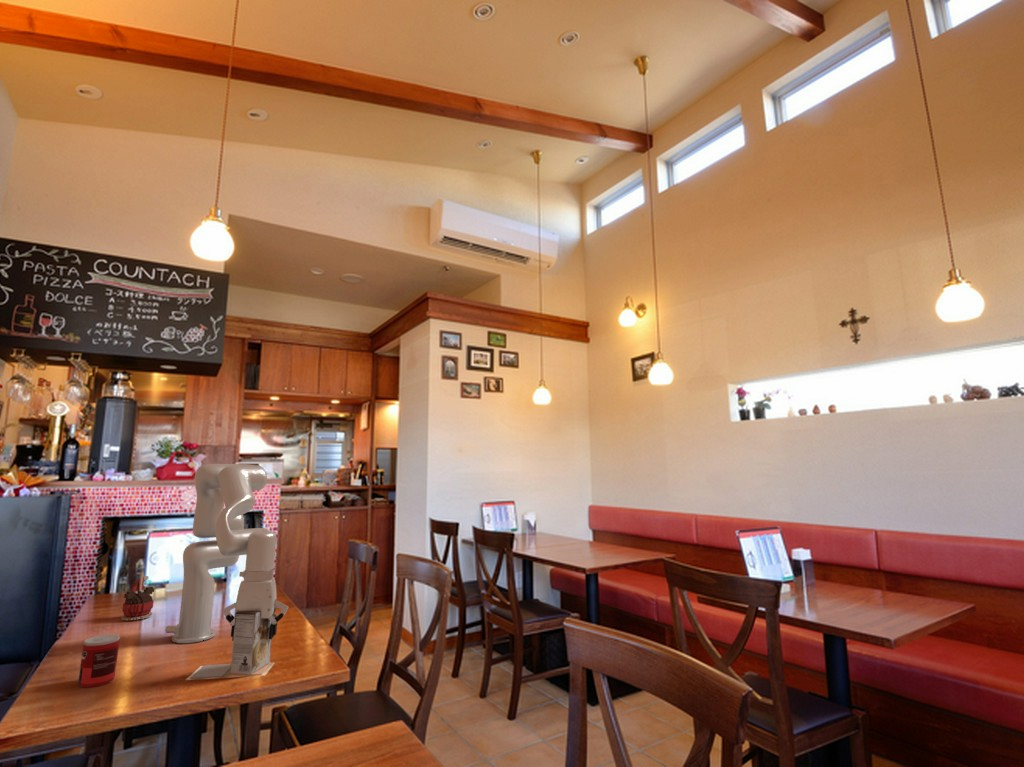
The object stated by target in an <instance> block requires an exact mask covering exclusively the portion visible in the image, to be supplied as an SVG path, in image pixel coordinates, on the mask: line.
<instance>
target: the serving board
mask: <svg viewBox="0 0 1024 767" xmlns="http://www.w3.org/2000/svg"><path fill="white" fill-rule="evenodd" d="M270 662H271V661H270ZM275 663H276V662H274V661H272V662H271V664H270V665H269V666H268V667H267V669H266V670H265V671H264V673H263V674H262V675H253V676H252V677H264V676H266V675H267V674H268V673H269V671H270V670H271V668H272V667H273V666H274V664H275ZM203 666H204V665H200V666H199V667H198V668H196V670H194V671H193V672H192V673H191V674H190V675H189V676H188V677H187V678H185V681H193V680H209V679H213V680H214V679H230V678H247V677H248V678H249V677H250V678H251V676H234V677H230V675H231V674H232V673H231V669H230V670H229V671H228V672H227V673H226V674H225V675H224V676H223V677H216V678H198V679H190V678H191V677H192V676H193V675H194V674H195V673H196V672H197V671H198V670H199V669H200V668H202V667H203Z"/></svg>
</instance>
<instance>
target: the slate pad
mask: <svg viewBox="0 0 1024 767" xmlns="http://www.w3.org/2000/svg"><path fill="white" fill-rule="evenodd" d="M202 666H203V667H202V668H200V669H199V670H198V671H197V672H196V673H195V674H194V675H193V676H192V677H191V678H190V679H196V680H199V679H198V678H214V679H217V678H216V677H223V676H224V675H225V674H226V673H227V672H228V671H229V670H230V669H231V663H226V664H225V663H224V664H221V663H220V664H206V665H202Z"/></svg>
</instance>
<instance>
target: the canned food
mask: <svg viewBox="0 0 1024 767" xmlns="http://www.w3.org/2000/svg"><path fill="white" fill-rule="evenodd" d="M120 639H121V638H120V635H118V634H113V633H111V634H101V635H96V636H95V635H94V636H92V637H89V638H86V639H84V641H83V645H82V652H81V660H80V668H79V675H78V685H80V686H79V687H81V686H82V687H81V688H94V687H93V686H96V687H100V686H99V685H101V686H104V685H107V684H109V683H111V682H112V681H113V680H115V676H116V670H117V662H118V661H117V660H118V657H119V656H118V655H119V654H118V653H119V647H120ZM106 683H107V684H106ZM103 684H104V685H103Z"/></svg>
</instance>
